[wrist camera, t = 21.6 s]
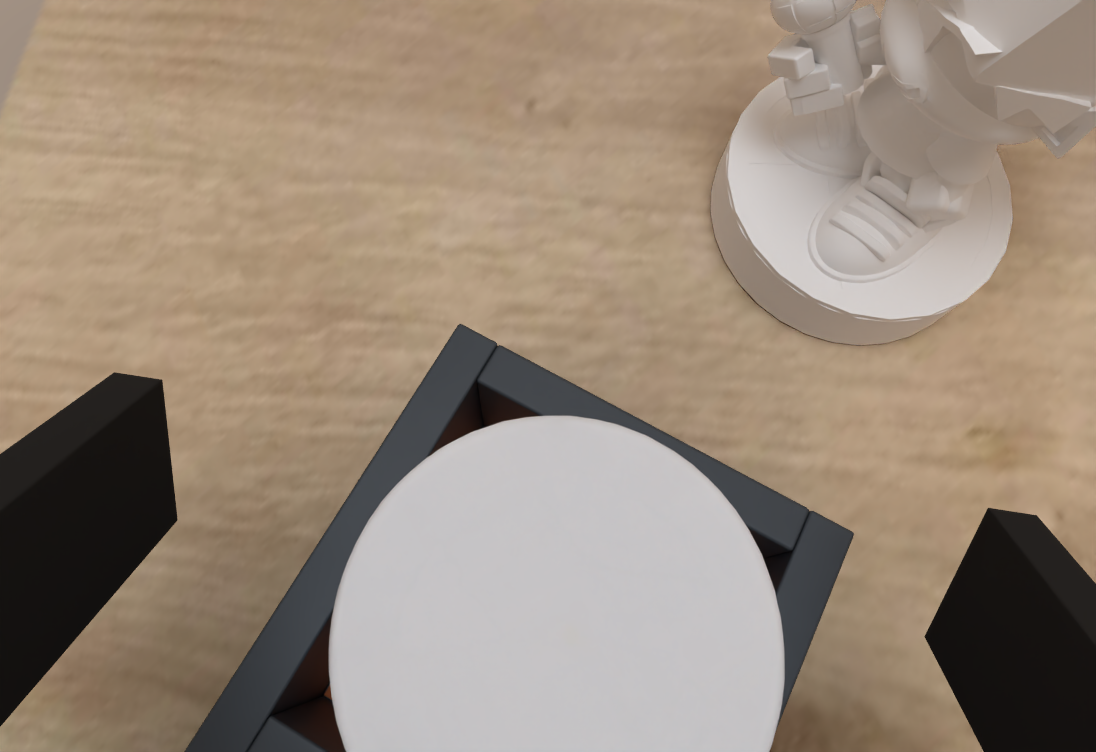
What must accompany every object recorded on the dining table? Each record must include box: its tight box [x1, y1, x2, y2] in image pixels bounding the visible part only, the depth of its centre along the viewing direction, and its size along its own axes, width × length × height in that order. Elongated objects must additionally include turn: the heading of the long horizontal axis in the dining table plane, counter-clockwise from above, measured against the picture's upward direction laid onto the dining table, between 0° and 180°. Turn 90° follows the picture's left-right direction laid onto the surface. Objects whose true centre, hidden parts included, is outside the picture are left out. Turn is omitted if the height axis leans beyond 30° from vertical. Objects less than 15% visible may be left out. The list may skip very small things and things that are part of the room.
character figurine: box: [711, 0, 1096, 345], centre depth 18 cm, size 9×10×12 cm
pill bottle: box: [329, 416, 785, 752], centre depth 13 cm, size 6×6×11 cm
